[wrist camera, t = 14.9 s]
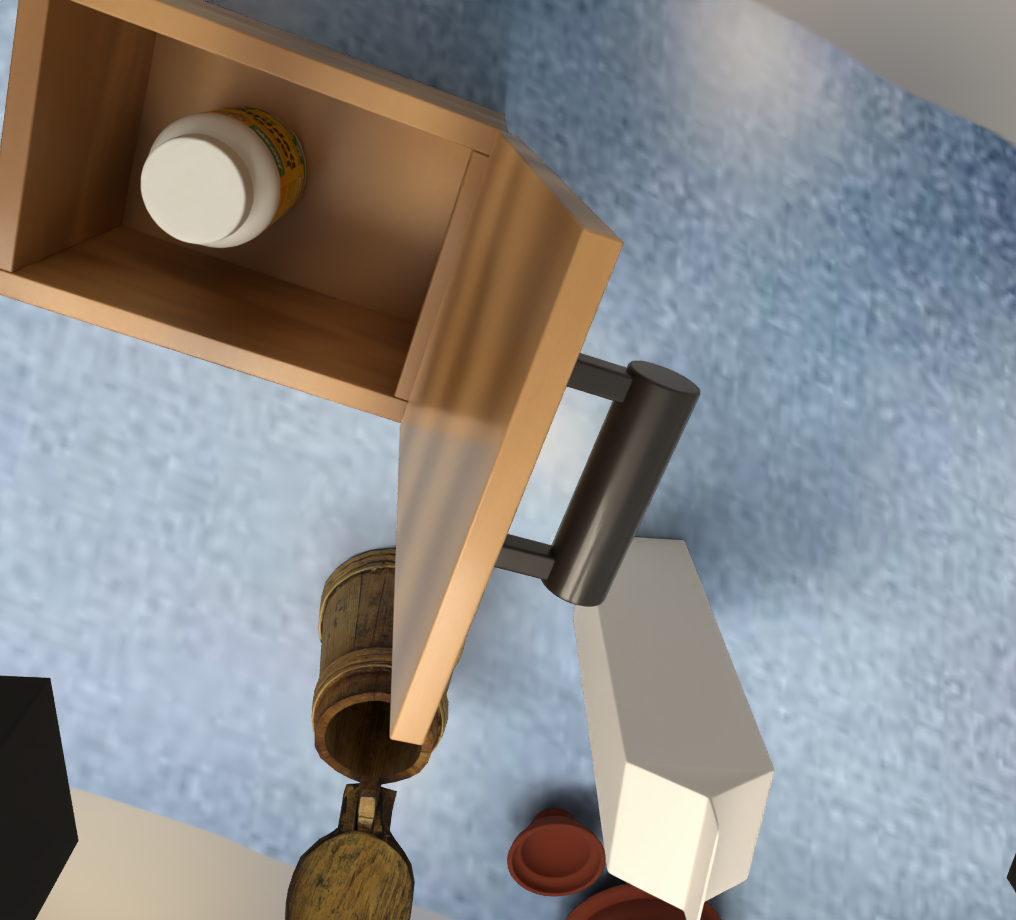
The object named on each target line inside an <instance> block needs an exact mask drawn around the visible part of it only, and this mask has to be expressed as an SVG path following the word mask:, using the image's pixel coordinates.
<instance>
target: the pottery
mask: <svg viewBox="0 0 1016 920" xmlns="http://www.w3.org/2000/svg"><path fill="white" fill-rule="evenodd" d="M605 860H606V857H605V851H604V848H603V846H602V844H601V842H600V841H599V839H598V838H597V837H596V836H595V834H594V833H593V832H592V831H590V830H589V829H588V828H586V827H585V826H583V825H581V824H580V823H579V822H577V821H575V820H574V818H573V816H572V815H571V814H570V813H568V812H567V811H565V810H562V809H547V810H544V811H542V812H540V813H539V814H537V815H536V816H535V818H534V819H533V822H532V824H530V825H529V826H528V827H527V828H526V829H525V830H523V831H522V832H521V833H520V834H519V835H518V836H517V837H516V839H515V840H514V842H513V844H512V846H511V847H510V850H509V852H508V857H507V865H508V869H509V872H510V874H511V876H512V877H513V879H514V880H515V881H516V882H517V883H518V884H519V885H520V886H522V887H523V888H525V889H526V890H528V891H530V892H533V893H536V894H539V895H544V896H565V895H570V894H574V893H577V892H579V891H582V890H584V889H586V888H587V887H589V886H590V885H591V884H593V883H594V882H595V881H596V880H597V879H598V878H599V876H600V875H601V873H602V871H603V869H604V866H605ZM566 920H686V916H685V913H684V911H683V910H681V909H679V908H677V907H675V906H673V905H671V904H669V903H667V902H665V901H663V900H661V899H659V898H657V897H655V896H653V895H651V894H649V893H647V892H645V891H643V890H641V889H639V888H637V887H635V886H633V885H632V884H630V883H628V884H623V885H618V886H615V887H611V888H608V889H606V890H603V891H601V892H599V893H597V894H595V895H593V896H591V897H589V898H588V899H586V900H585V901H583V902H582V903H581V904H579V905H578V906H577V907H576V908H575V909H574V910H573V911H572V912H571V913H570V914H569V916H568V917H567V918H566ZM700 920H721V918H720V916H719V915H718V913H717V912H716V910H715V909H714V908H713V907H712V906H711V905H710V904H709V903H708V902H707V901H705V902H704V905H703V909H702V913H701V918H700Z"/></svg>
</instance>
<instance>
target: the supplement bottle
mask: <svg viewBox="0 0 1016 920" xmlns="http://www.w3.org/2000/svg"><path fill="white" fill-rule="evenodd" d="M305 181H306V161H305V156H304V152H303V149H302V146H301V144H300V141H299V140H298V138H297V136H296V135H295V133H294V132H293V131H292V130H291V128H290V127H289V126H288V125H287V124H286V123H285V122H284V121H282V120H281V119H280V118H278V117H277V116H275V115H274V114H272V113H270V112H268V111H266V110H263V109H260V108H255V107H244V106H239V107H229V108H223V109H218V110H212V111H207V112H200V113H195V114H191V115H187V116H185V117H182V118H180V119H178V120H176V121H174V122H173V123H171V124H170V125H169V126H167V127H166V128H165V129H164V130H163V131H162V132H161V133H160V134H159V136H158V137H157V138H156V140H155V142H154V143H153V145H152V148H151V150H150V153H149V156H148V158H147V160H146V162H145V164H144V166H143V169H142V173H141V193H142V198H143V201H144V204H145V206H146V209H147V211H148V212H149V214H150V216H151V217H152V218H153V220H154V221H155V222H156V223H157V225H158V226H159V227H160V228H161V229H163V230H164V231H165V232H166V233H168V234H169V235H171V236H173V237H174V238H176V239H178V240H181V241H184V242H188V243H193V244H200V245H204V246H208V247H215V248H226V247H234V246H238V245H241V244H243V243H246V242H248V241H250V240H252V239H253V238H255V237H256V236H258V235H259V234H261V233H262V232H263V231H264V230H266V229H267V228H268V227H269V226H271V225H272V224H273V223H274V222H276V221H277V220H278V219H280V218H281V217H282V216H284V215H285V214H286V213H287V212H288V211H290V210H291V209H292V208H293V206H294V205H295V204H296V203H297V201H298V200H299V198H300V196H301V194H302V192H303V190H304V186H305Z"/></svg>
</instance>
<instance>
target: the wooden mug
mask: <svg viewBox="0 0 1016 920" xmlns="http://www.w3.org/2000/svg"><path fill="white" fill-rule="evenodd" d="M395 560H396V550H395V549H386V550H377V551H370V552H367V553H364V554H362V555H359V556H356V557H353V558H351V559H350V560H348V561H347V562H345V563H344V564H343V565H341V566H340V567H338V568H337V569H336V570H335V571H334V573H333V574H332V575H331V576H330V577H329V579H328V580H327V581H326V584H325V587H324V590H323V593H322V596H321V605H320V614H319V627H318V630H319V637H320V641H321V643H322V645H321V660H320V675H319V679H318V682H317V685H316V688H315V691H314V697H313V705H312V725H313V732H314V734H315V748H316V750H317V752H318V754H319V756H320V758H321V759H323V760H324V761H325V762H326V763H327V764H328V765H330V766H331V767H332V768H333V769H334V770H336V771H337V772H339V773H341V774H343V775H344V776H346V777H348V778H350V779H353V780H356V781H358V782H360V783H356V784H346V787H345V791H344V794H343V801H342V807H341V813H340V819H339V825H338V828H336V829H335V830H334V831H333V832H331V833H330V834H328V835H326V836H324V837H322V838H320V839H319V840H318V841H317V842H316V843H315V844H313V845H312V846H311V847H310V848H309V849H308V850H307V851H306V852H305V853H304V854H303V855H302V856H301V857H300V859H299V861H298V864H297V866H296V868H295V871H294V873H293V876H292V879H291V882H290V885H289V888H288V893H287V899H286V909H285V920H410V915H411V909H412V901H413V892H414V883H415V881H414V876H413V871H412V865H411V863H410V861H409V859H408V857H407V856H406V854H405V852H404V851H403V849H402V848H401V847H400V845H399V844H398V843H397V841H396V840H395V838H394V837H393V835H392V834H391V832H390V825H391V817H392V810H393V805H394V801H395V797H396V793H397V791H394V790H390V789H387V788H383V787H381V785H382V784H387V783H392V782H397V781H400V780H404V779H407V778H410V777H412V776H414V775H416V774H418V773H419V772H420V771H421V770H422V769H423V768H424V767H425V765H426V764H427V763H428V761H429V758H430V755H431V753H432V752H433V750H434V749H435V748H436V747H437V745H438V743H439V741H440V740H441V738H442V736H443V733H444V730H445V727H446V724H447V720H448V699H447V695H446V694H447V691H448V687H449V684H450V680H451V677H452V673H453V671H452V673H451V676H450V678H449V681H448V683H447V686H446V688H445V691H444V693H443V696H442V698H441V701H440V703H439V706H438V708H437V711H436V713H435V716H434V718H433V721H432V723H431V726H430V728H429V731H428V733H427V736H426V738H425V741H424V743H423V744H422V745H417V744H412V743H407V742H402V741H397V740H392V739H390V712H391V681H392V651H393V621H394V590H395ZM464 645H465V641H464V643H463V646H462V648H461V651H460V653H459V656H458V658H457V661H456V663H455V666H456V665H457V664H458V662H459V659H460V657H461V654H462V651H463V649H464ZM455 666H454V668H455ZM454 668H453V670H454Z"/></svg>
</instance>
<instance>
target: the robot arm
mask: <svg viewBox="0 0 1016 920" xmlns="http://www.w3.org/2000/svg"><path fill="white" fill-rule="evenodd" d="M77 842H78V835H77V830H76V824H75V818H74V812H73V806H72V801H71V795H70V789H69V783H68V777H67V772H66V766H65V760H64V754H63V748H62V743H61V737H60V731H59V725H58V719H57V714H56V708H55V702H54V696H53V690H52V685H51V679H50V678H40V677H18V676H0V920H35V919H36V917H37V916H38V913H39V912H40V910H41V908H42V906H43V904H44V903H45V901H46V899H47V897H48V895H49V893H50V891H51V890H52V888H53V886H54V884H55V883H56V881H57V879H58V877H59V875H60V873H61V872H62V870H63V868H64V866H65V864H66V862H67V861H68V859H69V857H70V855H71V853H72V851H73V849H74V848H75V846H76V844H77ZM1007 879H1008V881H1009V882H1010V884H1011V886H1012V887H1013V889H1014V890H1015V892H1016V854H1015V857H1014V859H1013V862H1012V865H1011V867H1010V870H1009V872H1008V875H1007Z"/></svg>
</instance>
